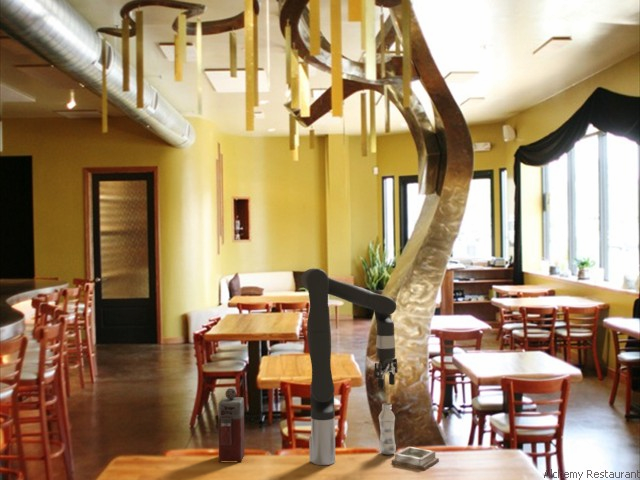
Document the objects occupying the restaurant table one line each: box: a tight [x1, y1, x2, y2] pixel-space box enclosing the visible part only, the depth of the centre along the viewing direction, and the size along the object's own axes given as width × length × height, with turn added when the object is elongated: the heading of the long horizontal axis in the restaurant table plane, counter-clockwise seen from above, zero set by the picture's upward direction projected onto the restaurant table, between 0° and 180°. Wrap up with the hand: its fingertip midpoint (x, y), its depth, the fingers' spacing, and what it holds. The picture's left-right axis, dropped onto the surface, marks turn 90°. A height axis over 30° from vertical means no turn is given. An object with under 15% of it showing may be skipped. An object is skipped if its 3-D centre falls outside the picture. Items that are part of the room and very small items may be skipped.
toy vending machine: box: [217, 387, 245, 462], centre depth 251 cm, size 9×11×28 cm
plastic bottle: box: [378, 402, 397, 456], centre depth 255 cm, size 6×7×20 cm
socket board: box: [391, 446, 440, 471], centre depth 244 cm, size 14×12×4 cm
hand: (386, 386), depth 255 cm, fingers open, 8 cm apart
